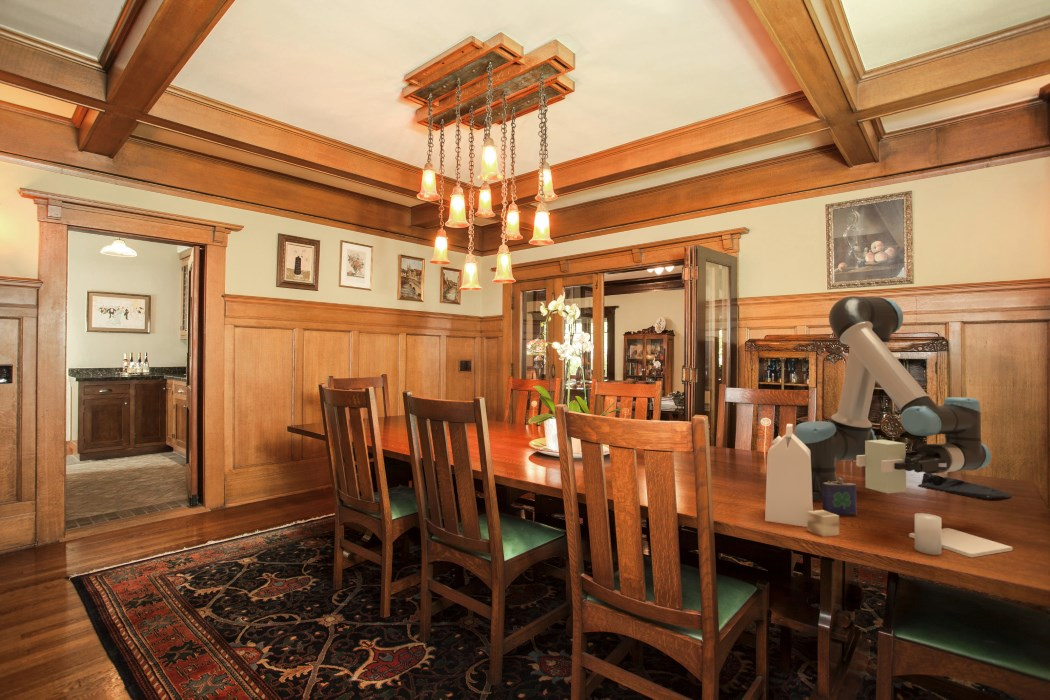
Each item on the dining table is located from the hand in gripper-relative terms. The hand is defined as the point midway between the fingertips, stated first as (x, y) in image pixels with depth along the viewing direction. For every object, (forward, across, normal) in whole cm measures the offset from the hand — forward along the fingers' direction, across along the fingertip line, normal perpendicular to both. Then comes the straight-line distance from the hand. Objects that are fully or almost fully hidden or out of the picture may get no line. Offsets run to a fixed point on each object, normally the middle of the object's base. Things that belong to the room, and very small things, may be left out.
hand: (869, 463), depth 131 cm
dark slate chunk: (-70, +25, -19) cm, 77 cm away
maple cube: (+8, +7, -19) cm, 21 cm away
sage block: (-5, 0, -7) cm, 9 cm away
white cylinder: (-5, -10, -19) cm, 22 cm away
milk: (+7, +19, -19) cm, 27 cm away
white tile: (-17, -9, -19) cm, 27 cm away
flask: (-9, +17, -19) cm, 27 cm away
